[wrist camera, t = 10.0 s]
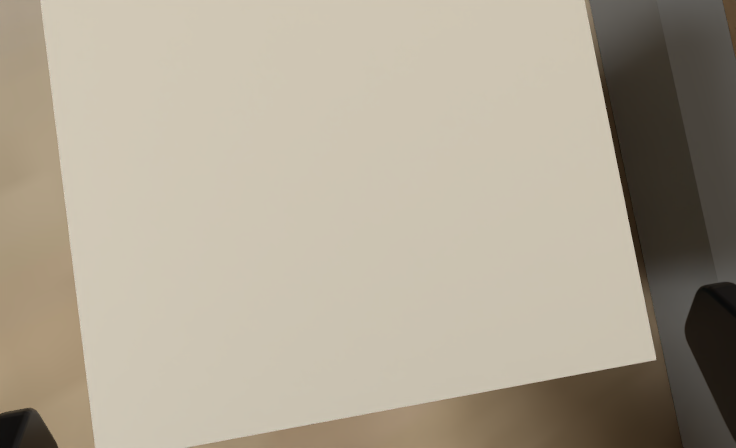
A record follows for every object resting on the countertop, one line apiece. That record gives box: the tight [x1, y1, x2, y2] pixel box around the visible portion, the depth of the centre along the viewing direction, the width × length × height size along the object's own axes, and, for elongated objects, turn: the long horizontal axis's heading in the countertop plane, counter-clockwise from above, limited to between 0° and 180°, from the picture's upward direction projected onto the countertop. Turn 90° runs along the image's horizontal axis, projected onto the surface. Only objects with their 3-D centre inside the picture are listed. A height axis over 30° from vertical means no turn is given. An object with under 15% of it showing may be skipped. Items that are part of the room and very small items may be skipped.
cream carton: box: [40, 0, 656, 448], centre depth 12 cm, size 6×6×10 cm
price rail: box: [589, 0, 736, 448], centre depth 16 cm, size 22×2×3 cm, turn 10°
